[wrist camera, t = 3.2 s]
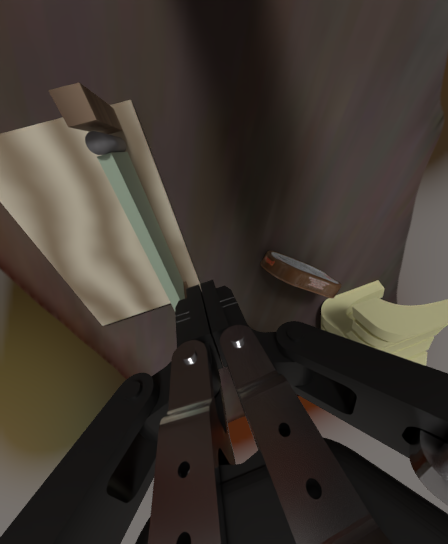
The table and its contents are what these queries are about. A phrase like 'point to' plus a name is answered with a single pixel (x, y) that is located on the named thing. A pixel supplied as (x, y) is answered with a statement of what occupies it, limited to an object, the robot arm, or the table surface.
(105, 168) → the gate
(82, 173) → the gate frame
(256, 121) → the table surface
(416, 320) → the pale yellow c-shaped piece
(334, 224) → the table surface
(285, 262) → the tin
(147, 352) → the table surface
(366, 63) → the table surface
